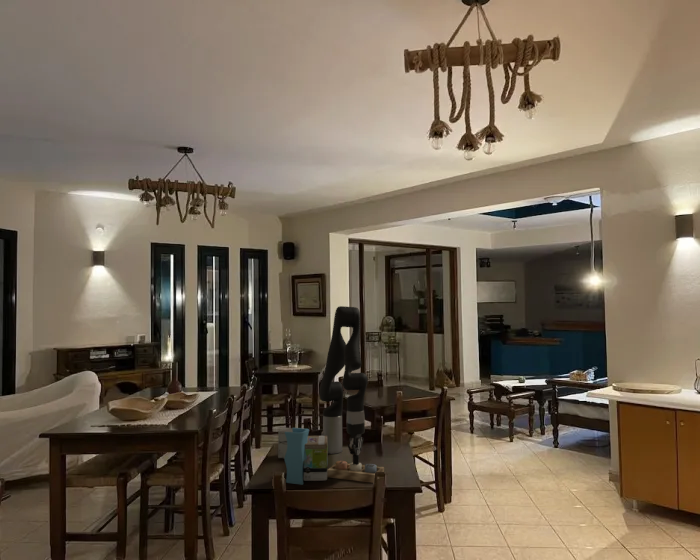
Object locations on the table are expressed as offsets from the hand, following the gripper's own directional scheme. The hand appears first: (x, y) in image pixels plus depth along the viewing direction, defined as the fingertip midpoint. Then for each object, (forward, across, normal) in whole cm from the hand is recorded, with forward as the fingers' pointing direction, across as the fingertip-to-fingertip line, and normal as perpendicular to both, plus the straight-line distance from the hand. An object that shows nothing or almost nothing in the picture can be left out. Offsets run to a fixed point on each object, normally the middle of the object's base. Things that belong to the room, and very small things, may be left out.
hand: (356, 463), depth 221 cm
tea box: (+5, +5, -16) cm, 18 cm away
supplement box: (+5, -15, -39) cm, 42 cm away
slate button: (+4, 0, +6) cm, 8 cm away
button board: (+5, 0, 0) cm, 5 cm away
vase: (+5, +13, -20) cm, 25 cm away
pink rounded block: (+4, 0, -7) cm, 8 cm away
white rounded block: (+4, 0, 0) cm, 4 cm away
